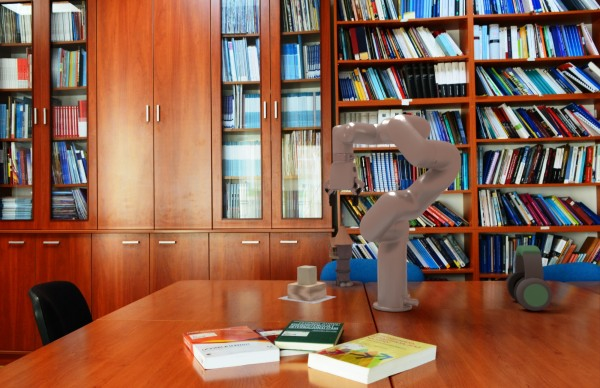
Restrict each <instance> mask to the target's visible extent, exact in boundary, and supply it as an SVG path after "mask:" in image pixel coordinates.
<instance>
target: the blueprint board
mask: <svg viewBox="0 0 600 388" xmlns="http://www.w3.org/2000/svg"><path fill="white" fill-rule="evenodd" d="M333 298H334V299H335V298H336V296H334V295H333V296H332V295H327V294H326V297H324V298H321V299H318V300H314V301H311V302H309V301H302V300H295V299H288V296H287V295H285V296H282V297H278V298H277V299H279V300H283V301H284V300H285V301H291V302H300V303H306V304H318V303H322V302H325V301H328V300H331V299H333Z"/></svg>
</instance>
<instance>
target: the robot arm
mask: <svg viewBox="0 0 600 388" xmlns="http://www.w3.org/2000/svg"><path fill="white" fill-rule="evenodd" d="M431 130H432V129H431V124H430V122H429V121H428V120H427V119H426V118H424V117H422V116H419V115H411V114H404V113H402V114H401V113H400V114H396V115H394V116H392V117H389V118H384V119H383V120H382V121H381V122H380V123H365V122H356V121H349V122H347V123H344V124H339V125H334V127H332V163H331V165H330V169H329V170H330V171H329V179H328V180H326V181H325V182H323V184H322V186H323V188H324V191H325V193H326V194H327V196H328V203H329V207H335V206H336V195H335V194H336V192H337V191H351V193H352V196H351V206H352V207H358V206H359V202H360V201H359V200H360V198H359V196H360V195H361V193H362V192H363V189H364V188H365V185H366V183H365V182H364V181H362V180H360V179H359V176H358V175H359V173H358V167H357V163H356V162H354V161H355V160H356V159H357V155H354V144H355V145H366V146H367V145H369V146H373V145H374V146H375V145H378V146H380V145H394V146H395V147H396V149H397V150H398V151H399V152H400V153H401V155H403V157H404V158H405V160H406V161H407V162H408V163H409V164H410V165H412V166H414V167H415V168H419V169H428V170H427V171H425V172H424V173H422V174H421V175H419V177H417V178H416V179H415V181H414V182H413V183H412V184H411V185H409V187H408V188H406V189H402V190H401V189H400V190H398V189H397V190H389V191H387V192H385V193H383V194H381V196H380V197H379V198H378V199H377V200H376V201H375V202H374V203H373V205H372V206H370V208H369V209H368V210H367V211H366V213H364V215H363V217H362V218H361V221H360V223H359V233H360V236H361V237H362V238H363V239H364V240H365V241H366V242H370V243H379V245H378V249H377V254H376V255H377V257H376V258H377V260H376V261H377V262H376V263H377V268H376V269H377V301H375V302H373V304H372V307H373V308H374V309H375V310H378V311H383V312H392V313H394V312H397V313H398V312H407V311H410V310H412V309H413V306H415V307H418V306H419V304H420V303H419V299H417V298H412V297H411V294H410V293H408V274H407V273H408V272H407V270H408V267H407V266H408V265H407V264H408V261H407V259H408V258H407V254H408V252H407V251H408V240H409V234H410V223H409V221H415V220H416V219H418V218H420V217H421V216H422V215H423V214H424V212H425V211H427V209H429V207H431V205H432V204H433V203H434V202H435V201H436V200H437V199H439V197H440V196H441V195H442V194H443V193H444V192H445V191H446V190H447V189H448V188H449V187H450V186H451V185H452V184H453V183H454V181H456V179H457V177H458V175H459V173H460V171H461V165H462V158H461V157H462V156H461V153H460V151H459V149H458V148H457V146H455V145H454V144H453V143H451V142H448V141H445V140H437V139H428V138H429V137H430V135H431V133H432V131H431Z"/></svg>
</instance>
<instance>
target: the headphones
mask: <svg viewBox="0 0 600 388" xmlns="http://www.w3.org/2000/svg"><path fill="white" fill-rule="evenodd" d="M514 257H515V258H514V272H513V273H511V274H510V275H509V277H508V278H507V281H506V290H507V292H508V294H509V296H510V297H511V298H512V299H514V300H515V301H516V302H517V303H518V304H519V305H520V306H521V307H522V308H524V309H525V310H527V311H532V312H533V311H534V312H537V311H542V310H545V309H546V308H548V307H549V306H550V304H551V303H552V300H553V290H552V288H551V285H550V284H549V283H548V282H547V280H545V279H544V267H543V258H542V251H541V250H540V249H539V247H538V246H537V245H528V244H527V245H525V244H524V245H518V246H517V247H516V250H515V256H514Z"/></svg>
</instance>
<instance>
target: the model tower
mask: <svg viewBox="0 0 600 388" xmlns="http://www.w3.org/2000/svg"><path fill="white" fill-rule="evenodd" d="M343 218H345V214H344V213H341V223H340V224H339V228H338V231H337V234H336V235H335V236H334V237H329V238H328V243H327V246H326V247H328V253H329V255H328V256H329V259H332V260H336V267H335V269H334V272H335V273H336V279H335V282H334V283H335V286H337V287H341V288H343V287H352V286H354V283H353V282H352V281H351V279H350V273H351V272H352V270H351V269H350V268H351V265H350V264H351V260H352V257H353V245H355V243H354V241H353V240H352V238H351V236H350V234H349V232H348V230H347V228H346V226H345V224H344V222H343Z"/></svg>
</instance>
